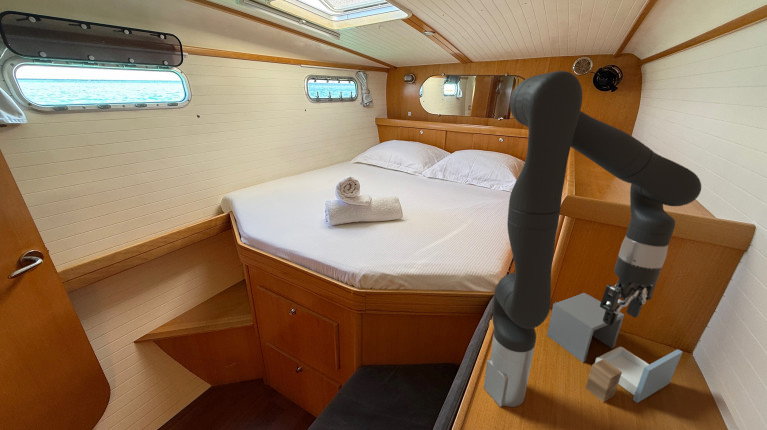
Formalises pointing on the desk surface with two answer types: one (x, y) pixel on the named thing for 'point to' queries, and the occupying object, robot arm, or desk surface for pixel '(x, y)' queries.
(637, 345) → the desk surface
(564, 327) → the cabinet
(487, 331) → the desk surface
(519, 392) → the robot arm
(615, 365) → the drawer
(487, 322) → the desk surface
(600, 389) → the block
